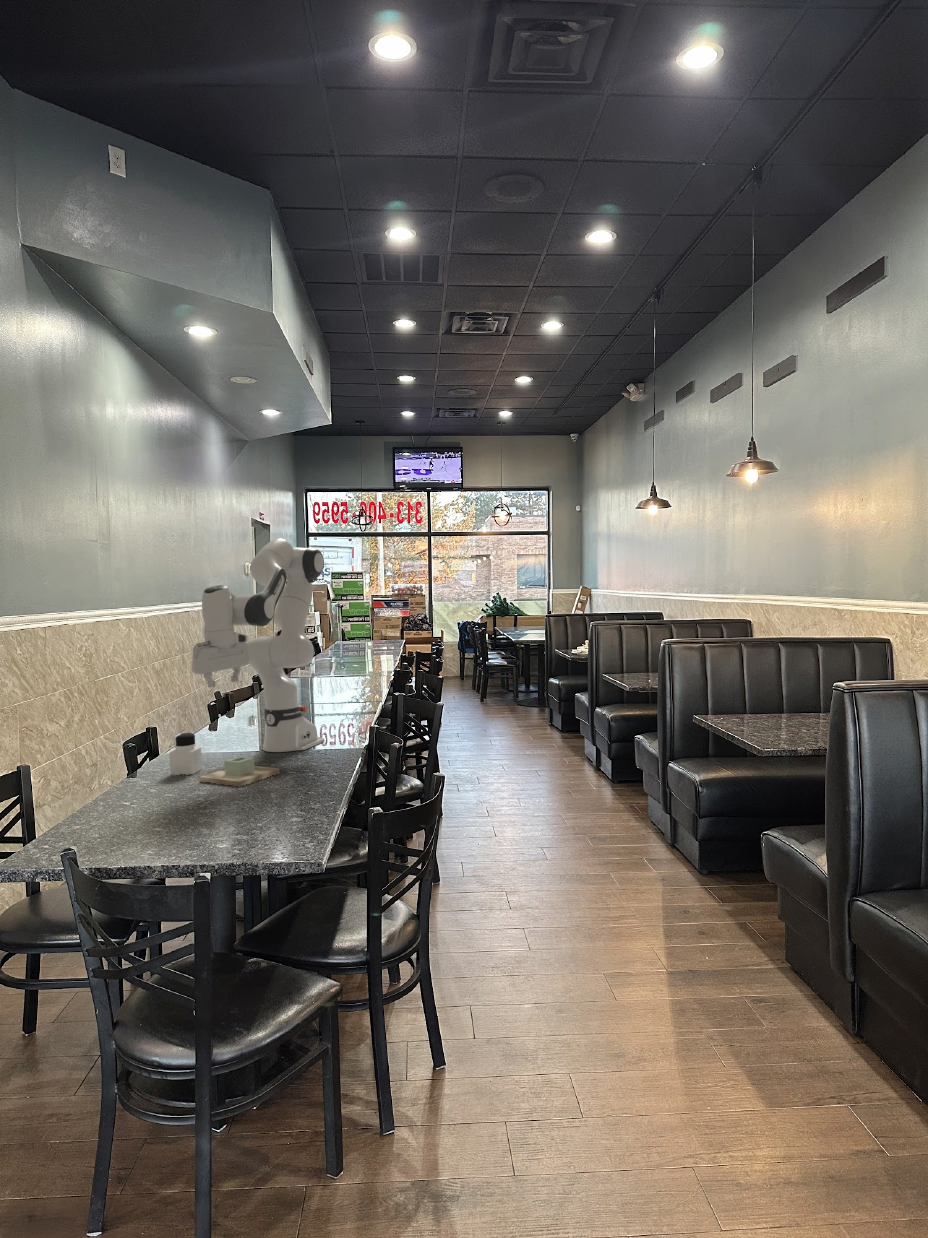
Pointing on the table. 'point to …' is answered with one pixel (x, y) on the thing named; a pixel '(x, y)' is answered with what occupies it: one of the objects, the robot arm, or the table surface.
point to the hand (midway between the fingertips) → (223, 684)
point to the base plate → (241, 780)
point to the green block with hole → (239, 766)
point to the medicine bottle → (185, 755)
